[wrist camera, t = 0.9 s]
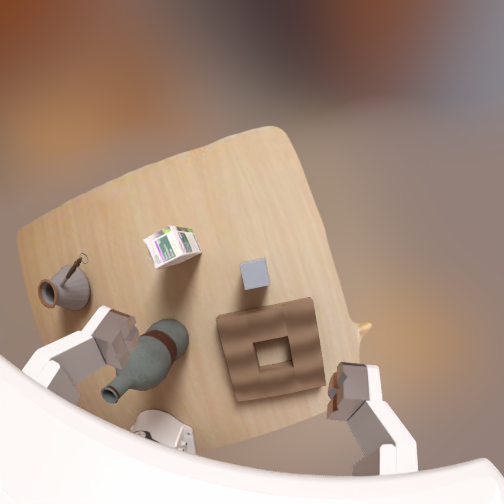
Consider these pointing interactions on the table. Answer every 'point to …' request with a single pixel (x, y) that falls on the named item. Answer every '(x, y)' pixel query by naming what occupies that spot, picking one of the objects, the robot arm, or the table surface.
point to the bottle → (149, 359)
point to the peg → (255, 273)
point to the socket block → (265, 328)
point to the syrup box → (172, 246)
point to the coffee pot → (66, 288)
